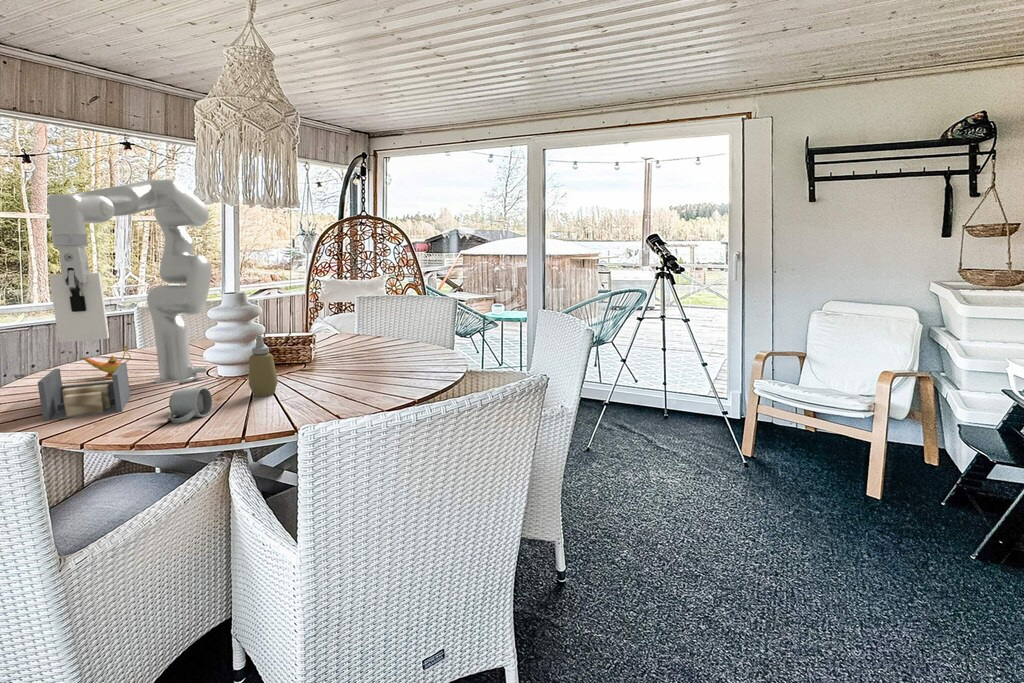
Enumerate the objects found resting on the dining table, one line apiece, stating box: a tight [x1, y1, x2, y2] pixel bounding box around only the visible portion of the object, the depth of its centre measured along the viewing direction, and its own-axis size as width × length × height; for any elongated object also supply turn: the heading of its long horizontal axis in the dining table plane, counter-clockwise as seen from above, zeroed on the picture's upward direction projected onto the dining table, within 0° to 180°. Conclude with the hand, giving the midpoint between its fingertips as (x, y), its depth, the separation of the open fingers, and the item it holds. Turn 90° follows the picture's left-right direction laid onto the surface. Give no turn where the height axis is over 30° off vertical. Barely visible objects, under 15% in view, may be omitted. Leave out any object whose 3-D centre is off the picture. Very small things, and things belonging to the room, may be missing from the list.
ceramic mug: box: [168, 387, 213, 424], centre depth 160 cm, size 11×8×8 cm
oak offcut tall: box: [62, 384, 112, 413], centre depth 165 cm, size 10×3×6 cm, turn 115°
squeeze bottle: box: [248, 334, 279, 398], centre depth 182 cm, size 8×8×18 cm
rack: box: [37, 362, 131, 422], centre depth 166 cm, size 17×18×12 cm
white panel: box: [48, 272, 110, 343], centre depth 166 cm, size 11×3×18 cm, turn 115°
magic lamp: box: [79, 344, 132, 377], centre depth 211 cm, size 7×18×11 cm, turn 88°
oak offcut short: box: [64, 391, 105, 416], centre depth 161 cm, size 8×3×5 cm, turn 115°
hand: (80, 309), depth 166 cm, fingers closed on white panel, 3 cm apart
